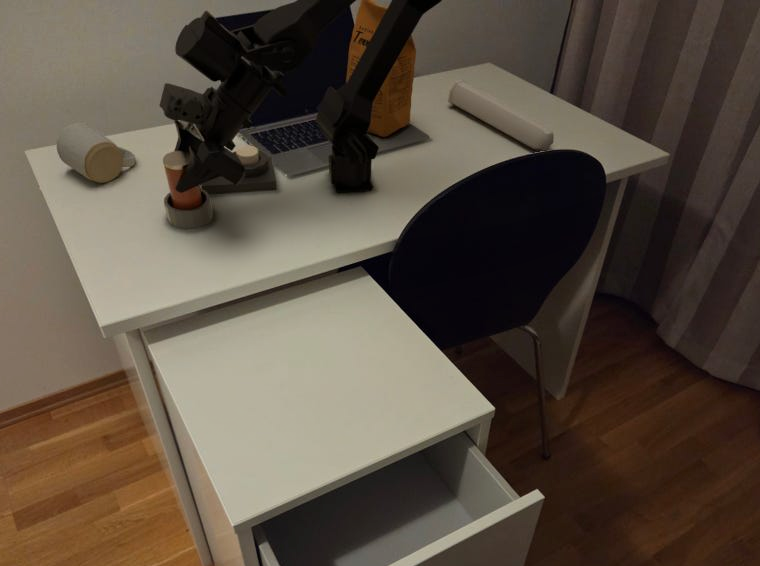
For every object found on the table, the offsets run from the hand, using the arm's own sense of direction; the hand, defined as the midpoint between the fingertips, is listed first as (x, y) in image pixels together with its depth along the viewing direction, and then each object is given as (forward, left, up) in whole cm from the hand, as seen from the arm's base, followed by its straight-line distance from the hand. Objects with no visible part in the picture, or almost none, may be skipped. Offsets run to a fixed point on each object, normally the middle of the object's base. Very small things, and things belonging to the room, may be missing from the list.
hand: (173, 183), depth 95 cm
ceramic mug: (+13, -16, -7) cm, 22 cm away
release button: (-11, -11, -3) cm, 16 cm away
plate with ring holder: (-9, -10, -7) cm, 15 cm away
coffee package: (-37, -28, -7) cm, 47 cm away
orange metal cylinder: (-1, 0, -6) cm, 6 cm away
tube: (-61, -23, -7) cm, 66 cm away
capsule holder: (-1, 0, -7) cm, 7 cm away
